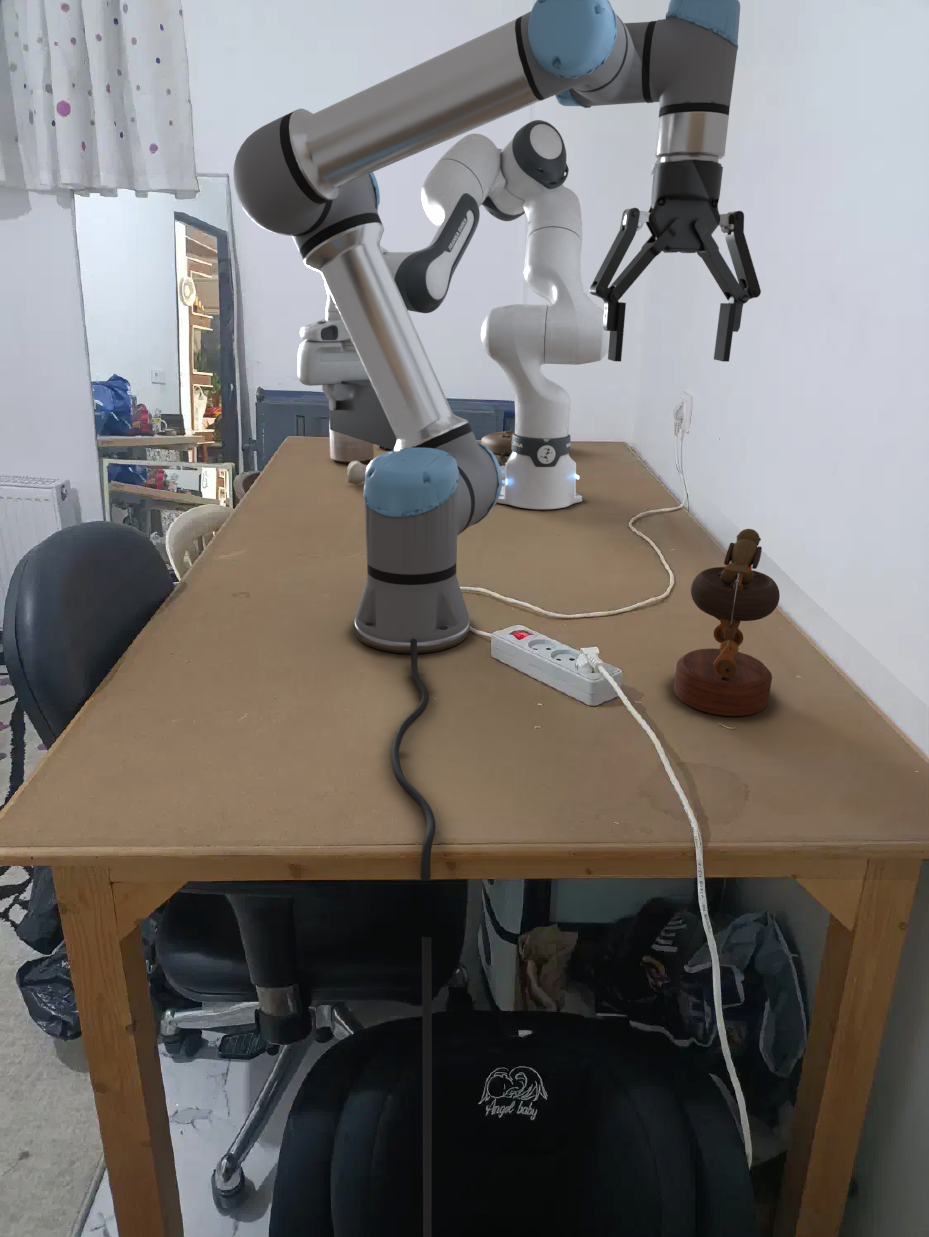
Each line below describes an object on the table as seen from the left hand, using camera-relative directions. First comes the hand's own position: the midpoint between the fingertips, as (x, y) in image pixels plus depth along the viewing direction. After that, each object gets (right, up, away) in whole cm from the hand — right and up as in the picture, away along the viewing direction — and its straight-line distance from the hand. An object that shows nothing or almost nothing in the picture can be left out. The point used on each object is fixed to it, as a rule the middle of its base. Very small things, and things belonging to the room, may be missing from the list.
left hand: (668, 360), depth 102 cm
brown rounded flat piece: (-9, +13, +123) cm, 124 cm away
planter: (-53, +9, +112) cm, 124 cm away
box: (-40, +1, +48) cm, 63 cm away
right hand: (-45, +7, +53) cm, 70 cm away
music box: (+5, -40, -4) cm, 40 cm away
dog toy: (-41, -1, +89) cm, 98 cm away
